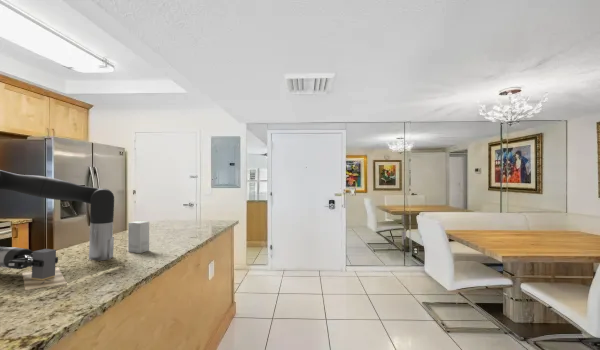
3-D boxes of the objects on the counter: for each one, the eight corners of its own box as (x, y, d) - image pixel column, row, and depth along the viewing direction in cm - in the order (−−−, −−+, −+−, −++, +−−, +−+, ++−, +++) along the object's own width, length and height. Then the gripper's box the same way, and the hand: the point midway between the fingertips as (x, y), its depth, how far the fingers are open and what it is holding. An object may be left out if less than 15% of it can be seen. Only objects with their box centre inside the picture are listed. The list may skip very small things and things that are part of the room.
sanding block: (31, 278, 110) (32, 251, 110) (44, 275, 115) (45, 248, 115) (42, 280, 109) (43, 252, 109) (54, 276, 114) (56, 249, 114)
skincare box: (149, 250, 162) (150, 221, 162) (139, 253, 156) (140, 223, 156) (137, 249, 165) (138, 220, 165) (126, 251, 158) (128, 222, 159)
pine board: (22, 275, 118) (22, 272, 118) (58, 270, 125) (58, 267, 125) (25, 293, 100) (25, 290, 100) (66, 286, 108) (66, 282, 108)
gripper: (-8, 252, 108) (29, 256, 104) (35, 244, 122) (69, 247, 118) (-9, 273, 108) (28, 278, 104) (34, 262, 122) (68, 266, 118)
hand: (50, 262), depth 111 cm, fingers closed on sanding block, 4 cm apart
